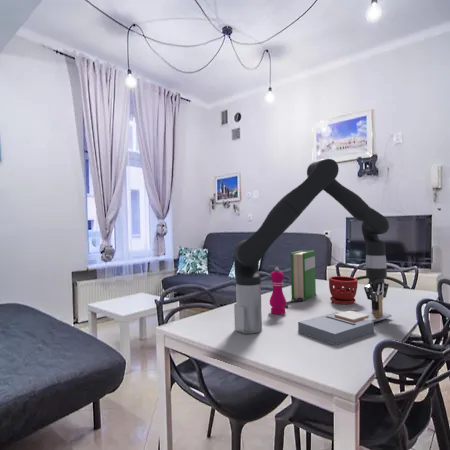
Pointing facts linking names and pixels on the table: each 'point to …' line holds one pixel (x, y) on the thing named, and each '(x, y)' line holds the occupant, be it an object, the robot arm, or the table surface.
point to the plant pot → (342, 289)
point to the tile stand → (334, 328)
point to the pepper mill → (277, 293)
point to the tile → (351, 316)
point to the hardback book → (303, 274)
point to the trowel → (377, 312)
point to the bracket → (294, 301)
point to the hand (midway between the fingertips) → (377, 309)
